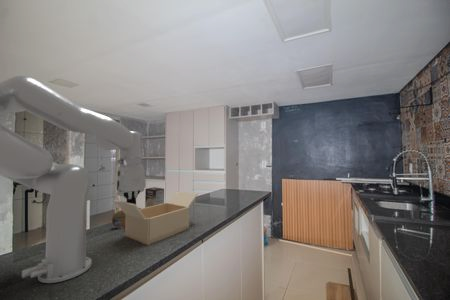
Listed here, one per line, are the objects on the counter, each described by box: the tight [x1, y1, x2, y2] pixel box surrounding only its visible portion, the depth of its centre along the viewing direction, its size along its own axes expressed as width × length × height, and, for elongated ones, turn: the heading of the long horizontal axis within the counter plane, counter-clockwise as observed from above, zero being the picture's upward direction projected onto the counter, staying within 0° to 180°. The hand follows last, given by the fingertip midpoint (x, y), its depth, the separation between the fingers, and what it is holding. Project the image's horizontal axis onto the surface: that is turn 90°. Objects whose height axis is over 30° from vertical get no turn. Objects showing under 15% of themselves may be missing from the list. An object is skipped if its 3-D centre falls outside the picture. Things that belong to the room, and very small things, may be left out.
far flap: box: [168, 191, 198, 208], centre depth 103 cm, size 8×14×1 cm
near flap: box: [114, 199, 146, 220], centre depth 80 cm, size 8×14×1 cm
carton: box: [124, 202, 190, 246], centre depth 91 cm, size 22×17×10 cm
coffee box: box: [144, 186, 165, 208], centre depth 113 cm, size 9×6×16 cm
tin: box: [111, 207, 142, 230], centre depth 99 cm, size 15×3×8 cm, turn 129°
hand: (131, 208), depth 80 cm, fingers closed
